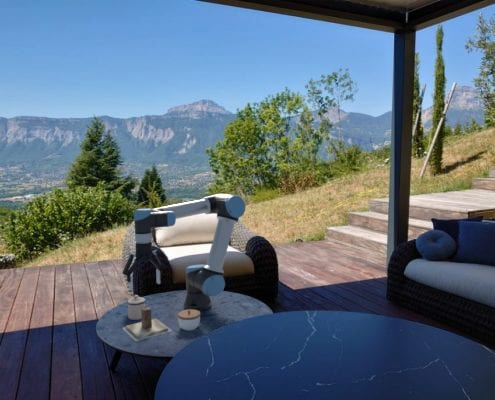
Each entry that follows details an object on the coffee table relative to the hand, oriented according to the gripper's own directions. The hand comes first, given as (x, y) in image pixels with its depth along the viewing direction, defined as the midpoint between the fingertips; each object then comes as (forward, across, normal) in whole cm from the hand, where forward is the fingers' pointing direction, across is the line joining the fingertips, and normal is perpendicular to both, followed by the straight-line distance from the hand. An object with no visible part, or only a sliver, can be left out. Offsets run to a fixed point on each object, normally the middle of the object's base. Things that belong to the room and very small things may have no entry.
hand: (145, 286), depth 193 cm
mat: (+22, 0, 0) cm, 22 cm away
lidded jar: (+22, -17, +11) cm, 30 cm away
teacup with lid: (+22, -2, -20) cm, 30 cm away
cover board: (+21, 0, 0) cm, 21 cm away
